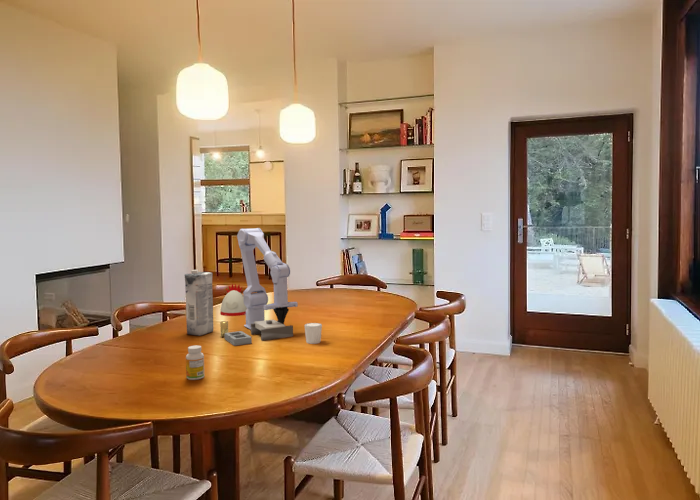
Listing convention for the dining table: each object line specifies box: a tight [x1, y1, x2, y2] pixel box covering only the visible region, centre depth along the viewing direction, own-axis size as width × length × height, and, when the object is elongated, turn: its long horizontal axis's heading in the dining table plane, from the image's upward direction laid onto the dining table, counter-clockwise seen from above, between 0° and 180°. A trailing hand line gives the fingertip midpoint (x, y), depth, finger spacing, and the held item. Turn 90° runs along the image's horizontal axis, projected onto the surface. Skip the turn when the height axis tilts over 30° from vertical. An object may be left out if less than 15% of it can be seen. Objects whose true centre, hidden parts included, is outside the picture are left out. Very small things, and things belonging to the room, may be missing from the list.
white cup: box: [304, 322, 323, 345], centre depth 205 cm, size 7×7×7 cm
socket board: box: [224, 330, 253, 347], centre depth 207 cm, size 12×7×2 cm, turn 31°
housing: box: [250, 320, 294, 342], centre depth 216 cm, size 13×14×4 cm
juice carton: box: [184, 269, 214, 336], centre depth 220 cm, size 9×10×27 cm
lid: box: [254, 319, 286, 330], centre depth 215 cm, size 13×9×3 cm
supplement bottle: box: [185, 344, 205, 381], centre depth 162 cm, size 5×5×10 cm
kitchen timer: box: [219, 283, 247, 317], centre depth 262 cm, size 14×14×15 cm
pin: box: [219, 320, 229, 338], centre depth 215 cm, size 3×3×6 cm
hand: (281, 325), depth 218 cm, fingers closed
